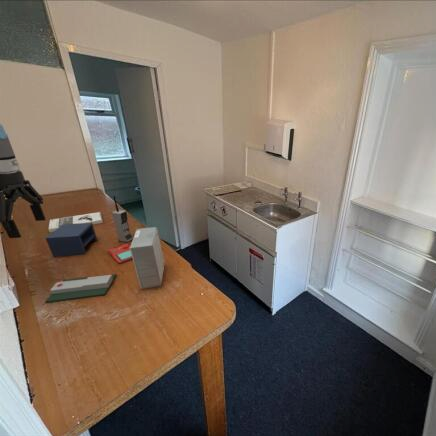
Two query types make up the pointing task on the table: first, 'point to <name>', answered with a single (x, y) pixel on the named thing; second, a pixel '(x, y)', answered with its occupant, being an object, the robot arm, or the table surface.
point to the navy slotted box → (71, 239)
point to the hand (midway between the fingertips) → (29, 228)
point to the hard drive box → (147, 257)
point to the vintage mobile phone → (121, 224)
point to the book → (75, 220)
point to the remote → (82, 284)
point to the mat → (78, 292)
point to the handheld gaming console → (121, 253)
